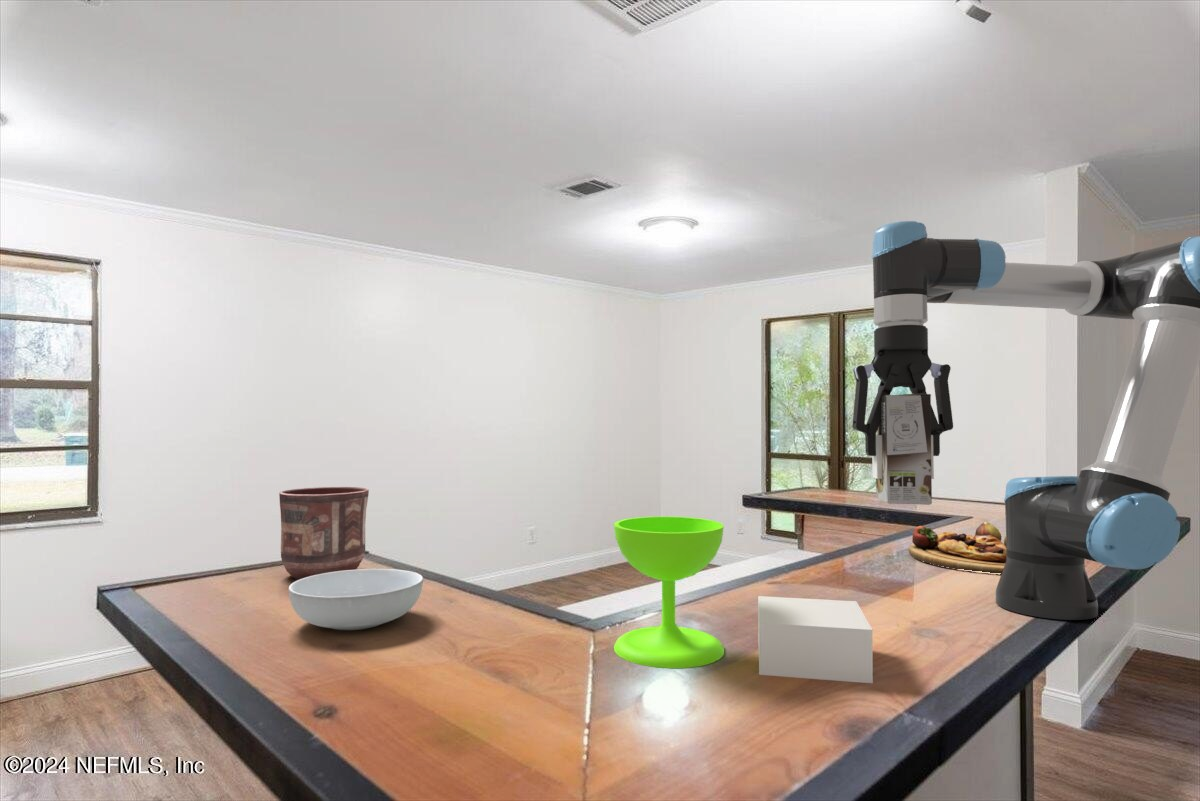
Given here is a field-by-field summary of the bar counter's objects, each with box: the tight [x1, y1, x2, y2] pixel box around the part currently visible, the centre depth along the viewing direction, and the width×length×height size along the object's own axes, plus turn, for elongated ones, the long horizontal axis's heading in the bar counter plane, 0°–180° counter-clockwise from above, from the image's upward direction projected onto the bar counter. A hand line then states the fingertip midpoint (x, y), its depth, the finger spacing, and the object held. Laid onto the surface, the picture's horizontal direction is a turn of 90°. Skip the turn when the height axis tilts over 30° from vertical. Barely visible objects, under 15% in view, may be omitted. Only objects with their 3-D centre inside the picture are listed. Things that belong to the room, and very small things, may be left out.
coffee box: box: [874, 393, 933, 506], centre depth 106 cm, size 9×6×16 cm
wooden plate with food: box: [908, 521, 1006, 574], centre depth 164 cm, size 32×32×8 cm
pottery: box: [279, 486, 370, 581], centre depth 150 cm, size 18×18×18 cm
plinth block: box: [757, 595, 874, 684], centre depth 97 cm, size 14×14×7 cm
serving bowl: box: [288, 568, 424, 631], centre depth 115 cm, size 21×21×7 cm
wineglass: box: [613, 515, 725, 669], centre depth 102 cm, size 16×16×18 cm
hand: (902, 477), depth 106 cm, fingers closed on coffee box, 7 cm apart
